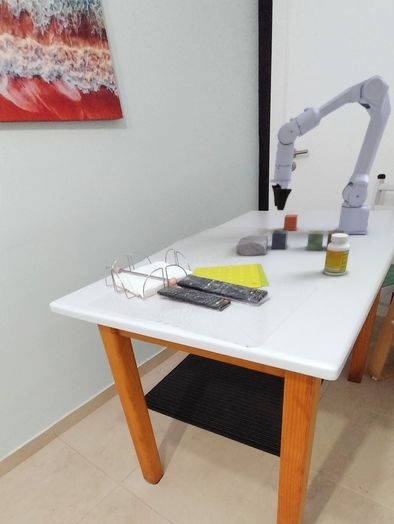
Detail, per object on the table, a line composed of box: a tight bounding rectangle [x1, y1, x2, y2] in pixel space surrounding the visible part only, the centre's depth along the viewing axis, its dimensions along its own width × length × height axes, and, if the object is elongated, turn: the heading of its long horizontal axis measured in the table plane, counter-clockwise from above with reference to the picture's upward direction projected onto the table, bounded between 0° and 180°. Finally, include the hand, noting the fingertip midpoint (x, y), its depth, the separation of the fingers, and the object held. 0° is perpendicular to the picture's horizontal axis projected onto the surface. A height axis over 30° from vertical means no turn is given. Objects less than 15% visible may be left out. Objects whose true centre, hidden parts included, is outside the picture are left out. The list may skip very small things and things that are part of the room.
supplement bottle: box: [323, 233, 351, 277], centre depth 87 cm, size 5×5×10 cm
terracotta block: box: [283, 214, 299, 232], centre depth 130 cm, size 4×4×5 cm
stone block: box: [236, 234, 269, 257], centre depth 111 cm, size 12×5×10 cm
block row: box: [271, 229, 344, 251], centre depth 108 cm, size 21×4×5 cm, turn 70°
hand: (278, 208), depth 122 cm, fingers open, 7 cm apart
